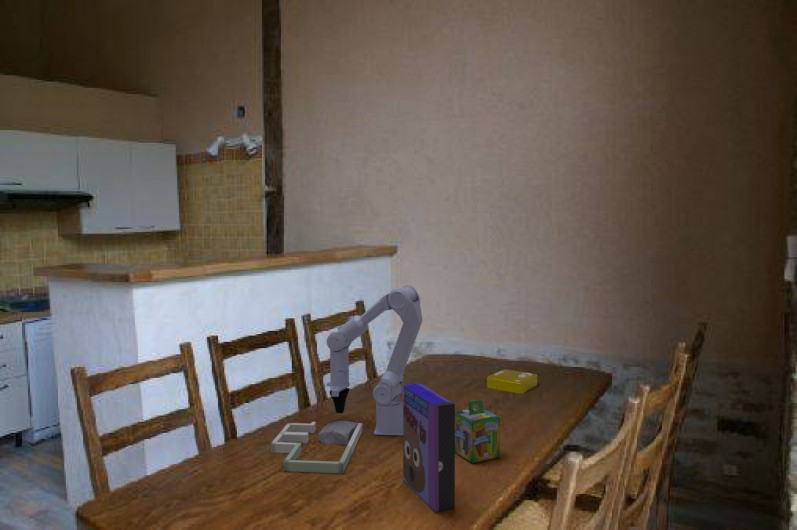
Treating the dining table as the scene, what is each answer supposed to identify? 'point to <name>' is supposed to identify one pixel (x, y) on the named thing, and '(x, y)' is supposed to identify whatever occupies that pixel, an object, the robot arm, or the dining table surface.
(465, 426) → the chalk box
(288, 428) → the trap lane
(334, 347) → the robot arm
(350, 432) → the stone block
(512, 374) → the element tile
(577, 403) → the dining table surface
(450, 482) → the cereal box
